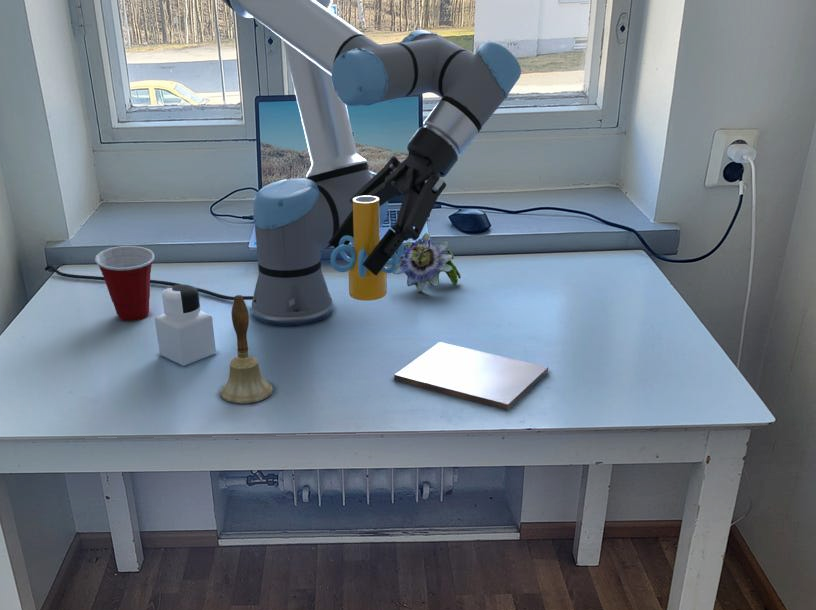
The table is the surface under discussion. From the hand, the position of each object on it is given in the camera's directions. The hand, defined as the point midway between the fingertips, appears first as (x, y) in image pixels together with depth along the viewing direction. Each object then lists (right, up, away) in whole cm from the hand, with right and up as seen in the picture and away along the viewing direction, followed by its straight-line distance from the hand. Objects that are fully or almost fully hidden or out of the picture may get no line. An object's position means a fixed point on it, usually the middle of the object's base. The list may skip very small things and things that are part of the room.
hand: (351, 258), depth 141 cm
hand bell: (-17, -20, +5) cm, 27 cm away
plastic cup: (-41, -3, +34) cm, 53 cm away
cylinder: (+3, -5, +4) cm, 7 cm away
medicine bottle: (-28, -12, +18) cm, 36 cm away
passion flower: (+16, +5, +43) cm, 46 cm away
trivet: (+19, -17, +7) cm, 27 cm away
